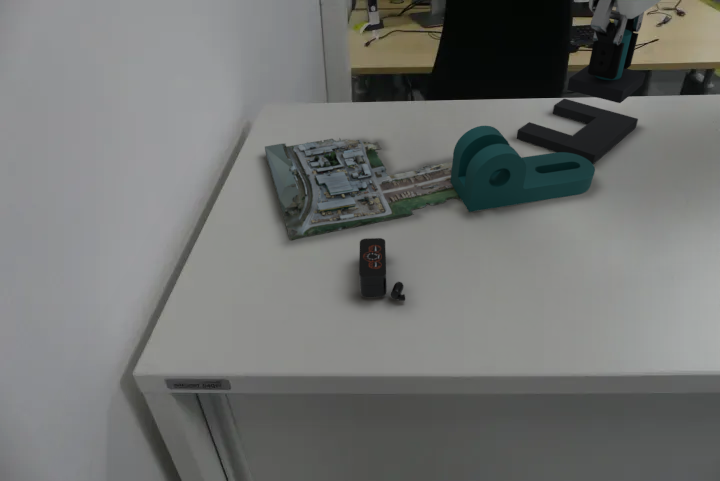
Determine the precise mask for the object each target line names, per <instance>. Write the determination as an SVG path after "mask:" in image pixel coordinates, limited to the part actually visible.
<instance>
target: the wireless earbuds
mask: <svg viewBox="0 0 720 481" xmlns="http://www.w3.org/2000/svg"><path fill="white" fill-rule="evenodd" d="M386 251H387V250H386V240H385V239H384V238H382V237H376V238H375V237H371V238H362V239H360V241H359V256H358V257H359V260H358V261H359V263H358V276H359V291H360V295H361V296H362V297H363V298H366V299H367V298H370V299H371V298H384V297H385V296H386V295H387V293H388V285H387V284H388V282H387V281H388V280H387V279H388V278H387V252H386ZM404 287H405V286H404V283H403V282H402V281H396V282H395V283H394V284H393V287H392V289H391V291H390V298H391V299H393V300H395V301H397V300H398V301H400V302H404V301H406V294H405V293H403V290H404Z"/></svg>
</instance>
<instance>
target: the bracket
mask: <svg viewBox="0 0 720 481" xmlns="http://www.w3.org/2000/svg"><path fill="white" fill-rule="evenodd" d="M452 161H453V162H452ZM452 161H451V162H452V171H451V181H450V182H451V184H452V185H453V187H454V189H455V190H456V192H457V193H458V195H459V197H460V198H461V199H460V200H461V201H462V203H463V205H464V206H465V208H466V210H467V211H468V212H469V213H473V212H478V211H484V210H491V209H497V208H504V207H509V206H516V205H523V204H528V203H534V202H541V201H546V200H547V201H548V200H553V199H560V198H565V197H572V196H578V195H582V194H584V193H586V192H588V191H589V190H590V188H591V185H592V182H593V180H594V176H595V172H596V168H595V164H592V163H591V162H590V161H589V160H588V159H586V158H584V157H582V156H580V155H577V154H573V153H567V152H550V153H549V152H548V153H543V154H537V155H529V156H522V157H521V155H520V154H519V153H518V152H517V151H516V149H515V148H514V147H513V146H511V145H510V143H509V141H508V140H507V138H506V137H505V136H504V135H503V134H502V133H501V132H500V131H499V130H498V128H495V127H494V126H492V125H479V126H478V125H477V126H476V127H473V128H471V129H469V130H467V131H466V132H464V134H462V135H461V136H460V137H459V139H458V140H457V142H456V144H455V145H454V149H453V153H452Z"/></svg>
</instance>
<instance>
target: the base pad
mask: <svg viewBox="0 0 720 481" xmlns="http://www.w3.org/2000/svg"><path fill="white" fill-rule="evenodd" d="M552 114H553V115H556V116H559V117H563V118H566V119H569V120H572V121H576V122H579V123H582V124H585V125H584V126H583V127H582V128H580V129H579V130H578V131H576V132H575V133H574V134H573V135H572V134H568V133H565V132H563V131H559V130H555V129H553V128H550V127H546V126H543V125H540V124H536V123H533V122H530V121H529V122H527V123H526V124H524V125H522V126H521V127H520V128H518V129H517V132H516V140H519V141H522V142H525V143H528V144H531V145H534V146H537V147H539V148H543V149H546V150H549V151H551V152H553V153H556V152H567V153H573V154H577V155H580V156H582V157H584V158H586V159H588V160H589V161H590V162H591V163H592V164H593V165H595V163H596V162H598V161H599V160H600V159H601V158H602V157H603V156H605V155H606V154H607V153H608V152H609V151H611V150H612V149H613V148H614V147H615V146H616V145H618V143H620V142H621V141H622V140H623V139H624V138H626V137H627V136H628V135H629V134H630V133H632V131H633V130H635V129H636V128H637V125H638V121H639V118H637V117H633V116H630V115H627V114H622V113H620V112H615V111H612V110H608V109H603V108H600V107H597V106H593V105H589V104H586V103H582V102H579V101H576V100H572V99H568V98H562V99H561V100H559V101H558V102H557V103H554V104H553V110H552Z"/></svg>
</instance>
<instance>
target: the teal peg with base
mask: <svg viewBox="0 0 720 481" xmlns="http://www.w3.org/2000/svg"><path fill="white" fill-rule="evenodd" d="M631 35H632V32H631V31H629V30H626V29H625V30H624V34H623V38H622V41H621V43H625V44H624V48H623V52H622V56H621V60H620V65H619V69H618V73H617V76H616V77H615V78H614V79H608V78H603V77H599V76H595V75H590V74H589V73H588V67H589V64H587V65H586V66H585V67H583V68H582V69H581V70H579V71H577V72H576V73H575V74H573V75H571V77H569V78H568V83H567V88H566V89H567V91H570V92H573V93H578V94H582V95H586V96H590V97H593V98H598V99H601V100H605V101H609V102H613V103H618V104H622V102H623V101H625V100H626V99H628V98H629V97H630V96H631V95H632V94H634V92H636V91H637V90H638V89H639V88H640V87H642V86H643V85H644V82H645V79H646V78H645V77H646V75H647V74H646V72H644V71H638V70H635V69H630V68H627V69H624V64H625V59H626V55H627V51H628V47H629V43H630V39H631Z"/></svg>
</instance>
